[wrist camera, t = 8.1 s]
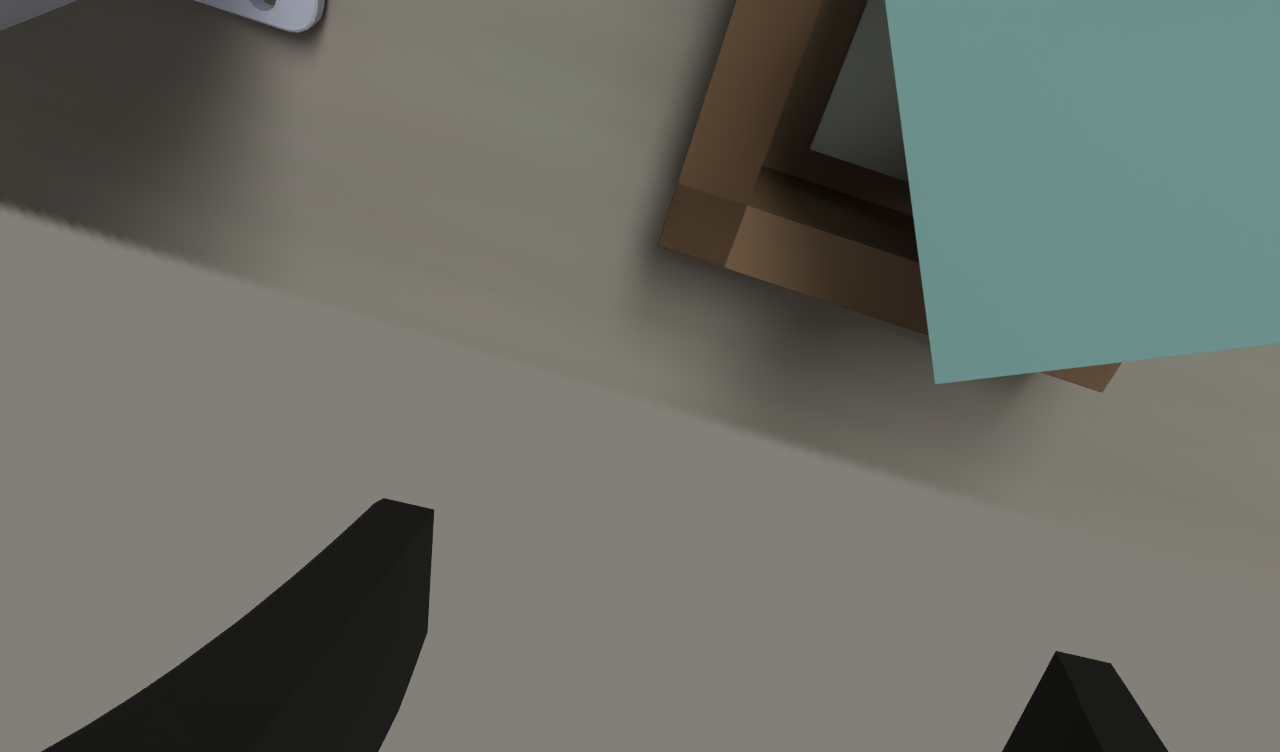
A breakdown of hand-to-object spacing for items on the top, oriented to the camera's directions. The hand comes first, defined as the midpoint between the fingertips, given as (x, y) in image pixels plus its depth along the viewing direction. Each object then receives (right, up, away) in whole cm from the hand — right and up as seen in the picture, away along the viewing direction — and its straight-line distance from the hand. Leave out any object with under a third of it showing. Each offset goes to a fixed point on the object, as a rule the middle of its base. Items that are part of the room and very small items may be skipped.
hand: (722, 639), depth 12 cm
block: (+6, +9, +5) cm, 11 cm away
